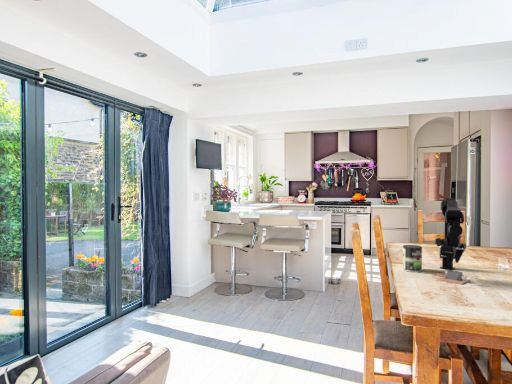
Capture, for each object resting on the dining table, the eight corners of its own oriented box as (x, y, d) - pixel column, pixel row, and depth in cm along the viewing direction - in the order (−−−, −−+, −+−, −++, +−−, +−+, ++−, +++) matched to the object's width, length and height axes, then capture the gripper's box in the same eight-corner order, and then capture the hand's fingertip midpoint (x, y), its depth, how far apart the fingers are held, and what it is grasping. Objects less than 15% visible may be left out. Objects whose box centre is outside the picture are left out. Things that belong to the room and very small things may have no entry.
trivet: (445, 276, 199) (445, 275, 199) (470, 280, 190) (470, 279, 190) (436, 280, 191) (436, 278, 191) (461, 284, 182) (461, 283, 182)
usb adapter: (443, 278, 193) (443, 270, 193) (446, 277, 195) (446, 269, 195) (464, 281, 185) (464, 274, 185) (467, 280, 188) (467, 272, 188)
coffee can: (425, 271, 211) (426, 247, 210) (410, 272, 208) (410, 248, 208) (413, 267, 221) (413, 244, 220) (399, 268, 218) (399, 245, 218)
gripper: (444, 231, 203) (444, 259, 203) (430, 233, 190) (430, 263, 190) (466, 232, 194) (466, 262, 194) (453, 235, 182) (452, 267, 182)
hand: (453, 263), depth 191 cm, fingers open, 9 cm apart
